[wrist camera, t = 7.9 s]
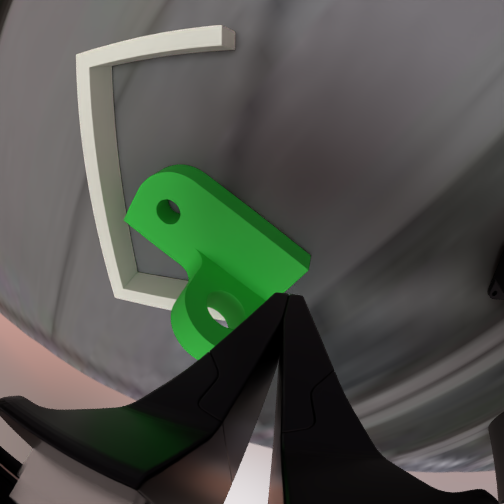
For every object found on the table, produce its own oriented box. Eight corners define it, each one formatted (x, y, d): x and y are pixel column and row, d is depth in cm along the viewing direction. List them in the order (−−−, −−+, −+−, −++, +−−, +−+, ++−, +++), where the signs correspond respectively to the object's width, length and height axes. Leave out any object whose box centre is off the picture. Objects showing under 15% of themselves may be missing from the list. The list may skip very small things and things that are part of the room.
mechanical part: (310, 254, 22) (297, 336, 15) (259, 302, 25) (232, 381, 18) (171, 146, 20) (97, 185, 13) (137, 209, 23) (71, 263, 16)
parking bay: (235, 31, 15) (221, 24, 13) (238, 300, 25) (229, 321, 23) (98, 54, 17) (76, 54, 15) (129, 281, 27) (114, 297, 25)
